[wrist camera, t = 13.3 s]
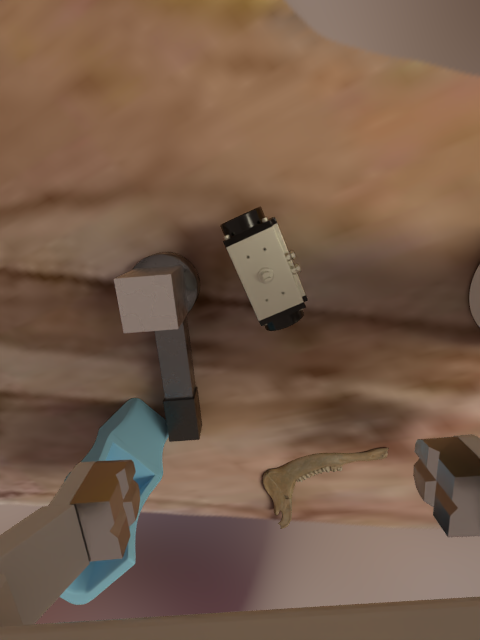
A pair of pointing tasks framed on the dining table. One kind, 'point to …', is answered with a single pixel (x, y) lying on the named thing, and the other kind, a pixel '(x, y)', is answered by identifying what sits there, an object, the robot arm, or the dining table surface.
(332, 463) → the jawbone
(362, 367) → the dining table surface
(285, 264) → the pneumatic valve
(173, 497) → the dining table surface
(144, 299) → the beige rectangular block
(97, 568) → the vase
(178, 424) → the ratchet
